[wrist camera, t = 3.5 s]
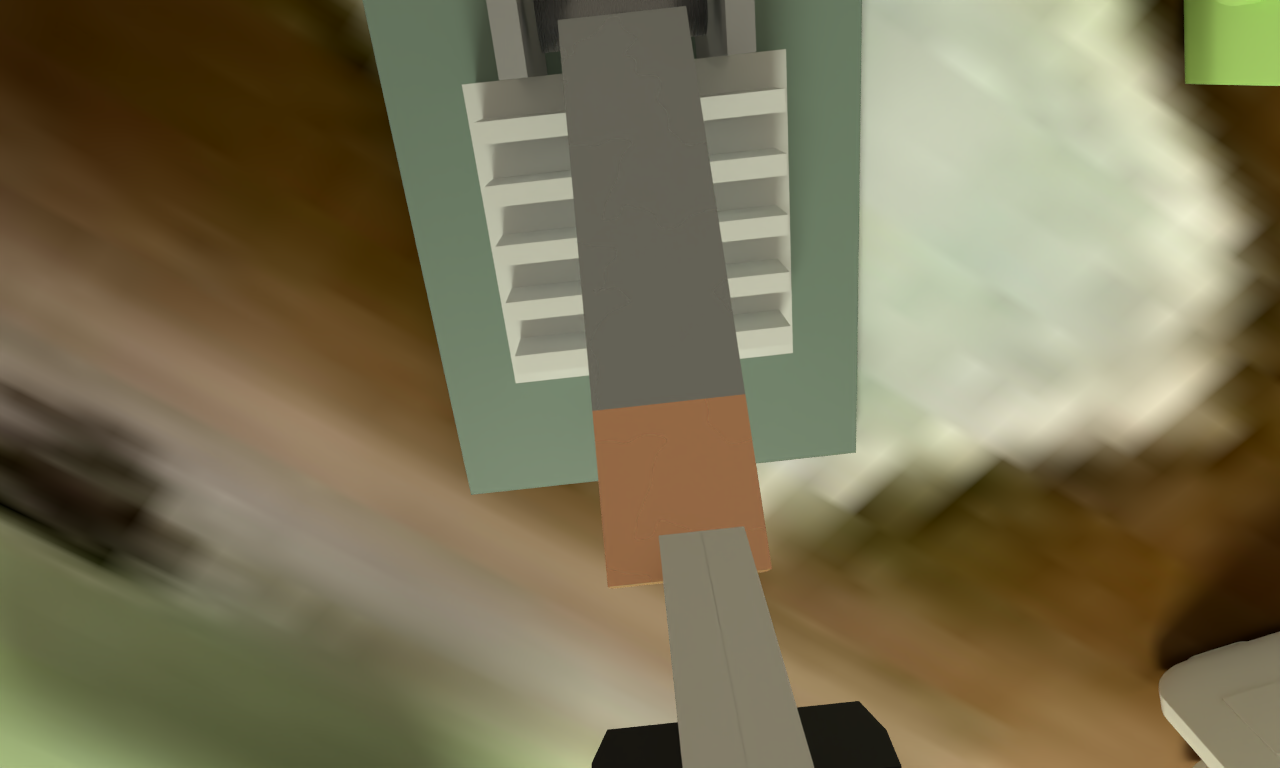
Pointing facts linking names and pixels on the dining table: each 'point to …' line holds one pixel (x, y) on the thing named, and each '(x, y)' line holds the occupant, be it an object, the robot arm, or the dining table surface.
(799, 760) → the robot arm
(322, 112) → the dining table surface
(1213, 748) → the cable organizer
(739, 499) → the orange-tipped flat strip
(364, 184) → the dining table surface
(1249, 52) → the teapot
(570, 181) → the heatsink board
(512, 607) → the dining table surface
